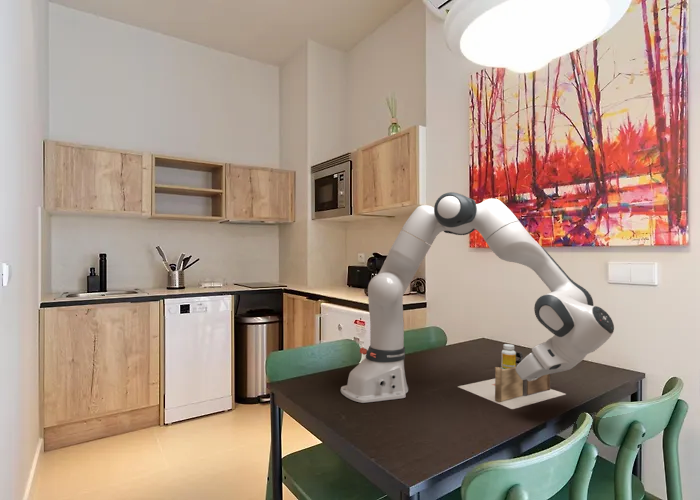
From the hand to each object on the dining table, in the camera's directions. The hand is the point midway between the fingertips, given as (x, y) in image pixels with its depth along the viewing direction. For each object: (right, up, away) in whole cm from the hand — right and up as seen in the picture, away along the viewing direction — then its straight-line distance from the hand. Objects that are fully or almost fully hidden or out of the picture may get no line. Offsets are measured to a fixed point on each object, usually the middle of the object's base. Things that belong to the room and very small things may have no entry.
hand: (529, 378), depth 119 cm
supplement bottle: (+9, -9, +39) cm, 41 cm away
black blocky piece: (+17, -10, +51) cm, 55 cm away
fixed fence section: (+8, -9, +13) cm, 17 cm away
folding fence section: (-4, -8, +6) cm, 11 cm away
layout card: (0, -9, +14) cm, 17 cm away
